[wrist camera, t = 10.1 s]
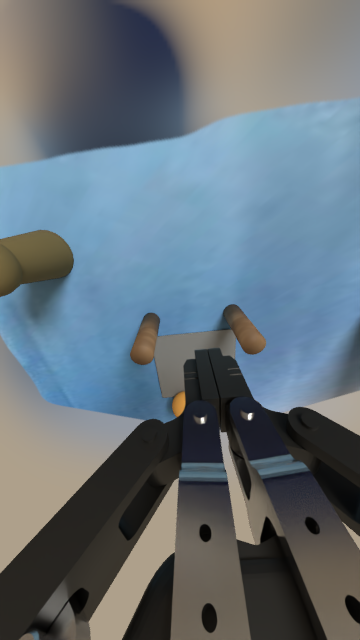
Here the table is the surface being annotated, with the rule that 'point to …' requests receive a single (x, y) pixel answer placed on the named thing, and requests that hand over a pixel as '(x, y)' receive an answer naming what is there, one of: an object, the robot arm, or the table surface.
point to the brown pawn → (33, 259)
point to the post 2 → (244, 330)
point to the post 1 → (146, 340)
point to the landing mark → (186, 355)
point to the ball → (178, 403)
